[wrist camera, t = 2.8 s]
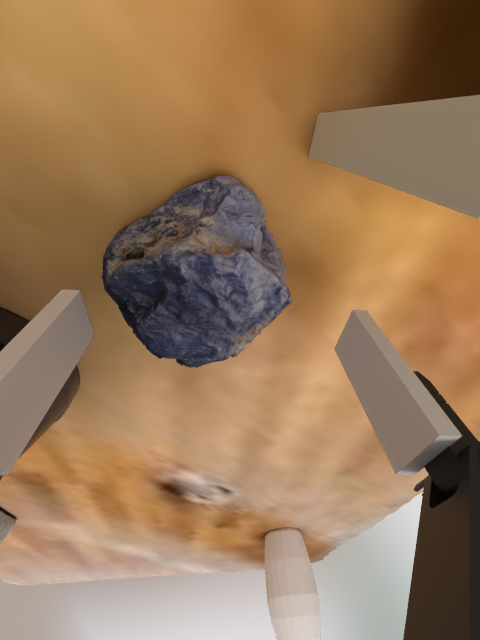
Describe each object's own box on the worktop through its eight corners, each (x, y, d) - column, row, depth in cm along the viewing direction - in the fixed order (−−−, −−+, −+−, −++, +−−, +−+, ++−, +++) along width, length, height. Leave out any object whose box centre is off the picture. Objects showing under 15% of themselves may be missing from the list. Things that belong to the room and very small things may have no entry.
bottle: (265, 541, 68) (283, 715, 48) (256, 530, 61) (274, 727, 41) (306, 535, 67) (343, 711, 47) (302, 523, 60) (343, 723, 40)
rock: (68, 261, 15) (96, 348, 8) (191, 150, 16) (307, 146, 9) (179, 345, 23) (242, 427, 16) (258, 266, 24) (349, 311, 17)
